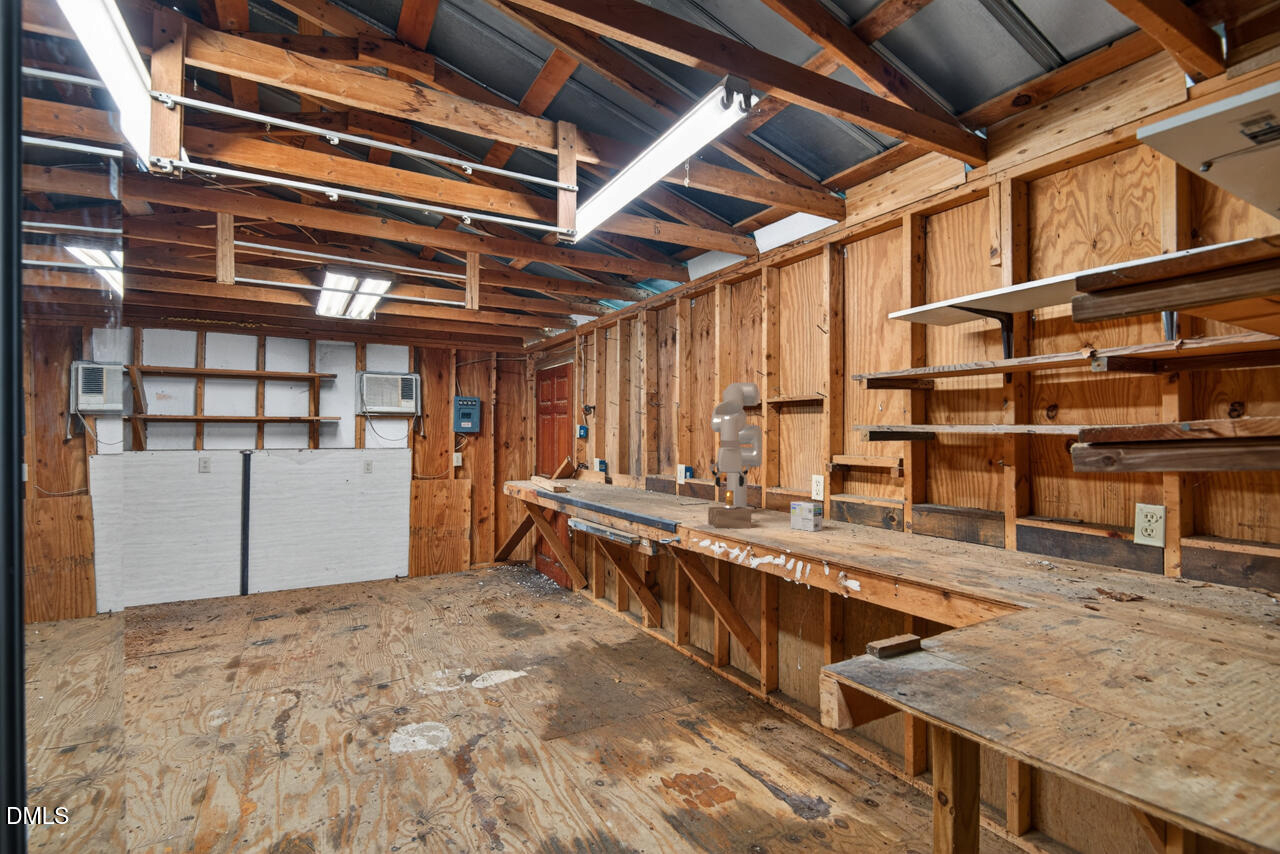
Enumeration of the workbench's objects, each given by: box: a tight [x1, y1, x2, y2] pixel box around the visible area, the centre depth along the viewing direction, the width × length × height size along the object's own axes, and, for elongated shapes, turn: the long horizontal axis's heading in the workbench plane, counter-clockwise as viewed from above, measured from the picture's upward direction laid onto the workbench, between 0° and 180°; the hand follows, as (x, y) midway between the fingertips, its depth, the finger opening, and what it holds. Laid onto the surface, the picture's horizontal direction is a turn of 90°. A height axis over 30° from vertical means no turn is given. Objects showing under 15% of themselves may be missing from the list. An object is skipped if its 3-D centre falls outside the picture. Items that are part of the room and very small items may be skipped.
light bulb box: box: [790, 500, 823, 532], centre depth 236 cm, size 11×7×11 cm, turn 42°
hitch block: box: [707, 506, 752, 529], centre depth 244 cm, size 14×14×7 cm
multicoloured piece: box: [722, 489, 736, 510], centre depth 244 cm, size 6×6×14 cm
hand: (729, 486), depth 245 cm, fingers open, 9 cm apart
